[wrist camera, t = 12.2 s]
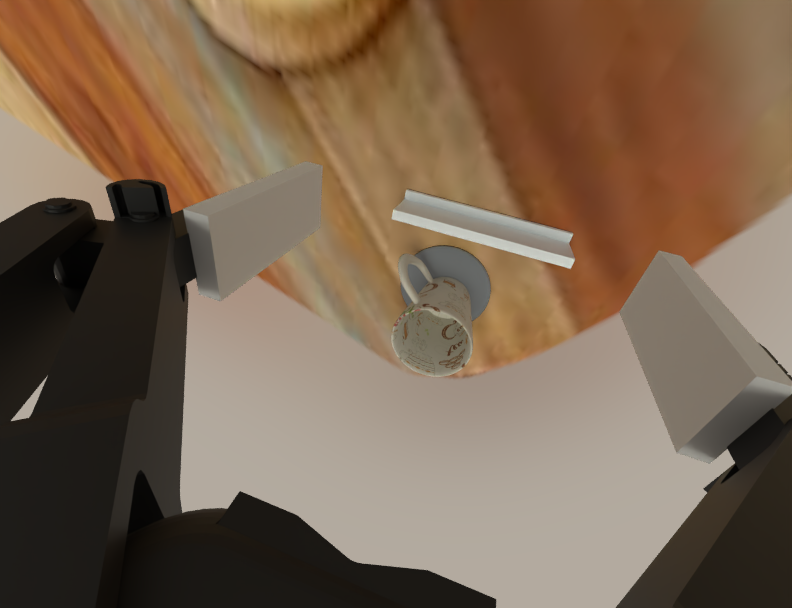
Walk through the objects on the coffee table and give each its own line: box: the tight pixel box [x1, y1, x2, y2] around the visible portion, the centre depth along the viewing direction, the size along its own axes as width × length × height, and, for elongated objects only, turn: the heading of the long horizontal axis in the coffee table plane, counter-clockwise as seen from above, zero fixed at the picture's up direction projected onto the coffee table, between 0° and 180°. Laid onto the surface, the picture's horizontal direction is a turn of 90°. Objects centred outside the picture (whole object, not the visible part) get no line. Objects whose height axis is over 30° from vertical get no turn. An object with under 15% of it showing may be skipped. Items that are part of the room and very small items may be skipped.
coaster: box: [401, 246, 491, 321], centre depth 44 cm, size 11×11×1 cm
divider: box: [392, 189, 575, 269], centre depth 37 cm, size 3×18×5 cm, turn 79°
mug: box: [391, 254, 473, 377], centre depth 40 cm, size 8×13×10 cm, turn 34°
